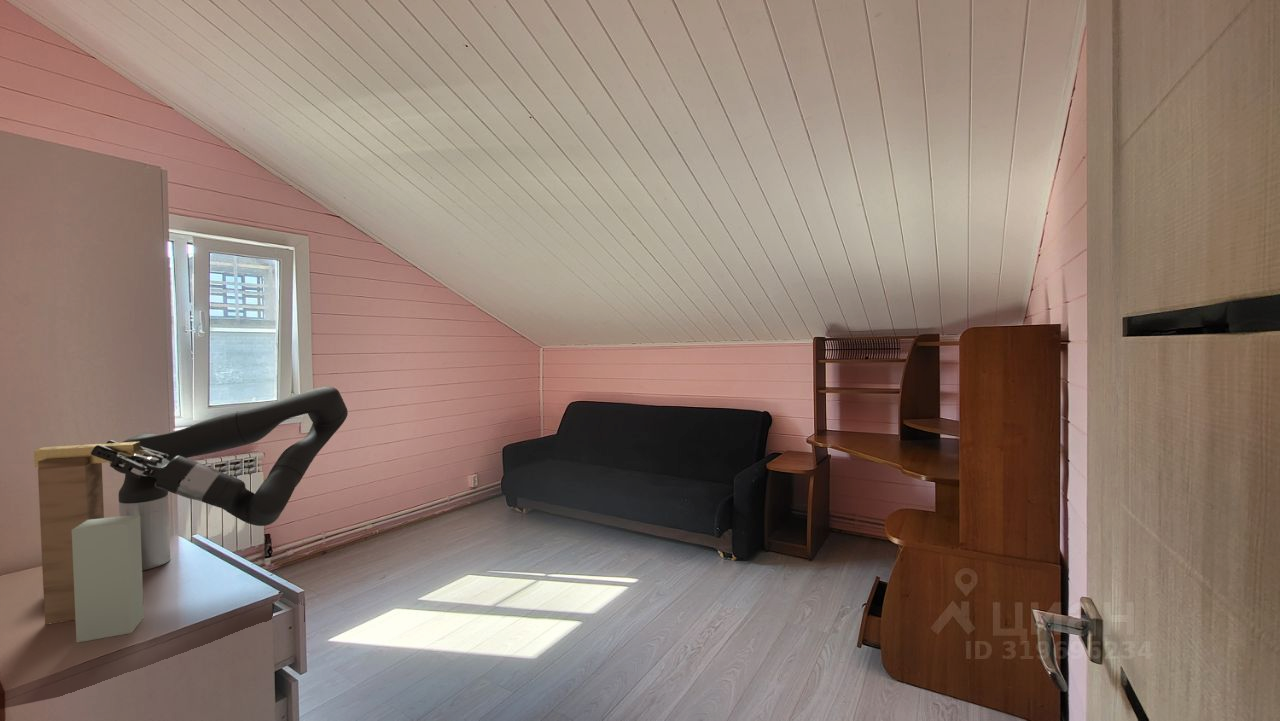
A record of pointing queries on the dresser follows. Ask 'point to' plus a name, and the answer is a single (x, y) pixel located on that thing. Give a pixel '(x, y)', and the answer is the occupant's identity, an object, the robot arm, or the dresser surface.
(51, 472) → the stand
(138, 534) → the block
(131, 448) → the rail
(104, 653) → the dresser surface
